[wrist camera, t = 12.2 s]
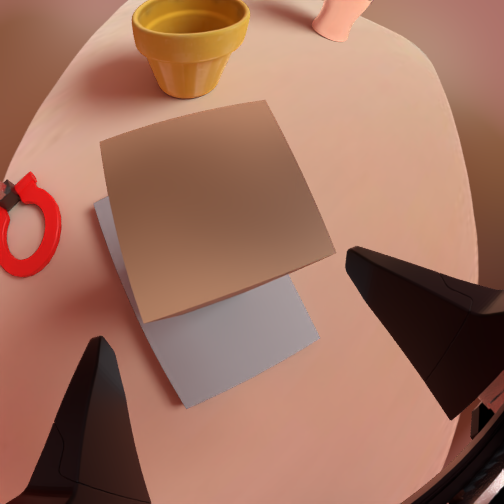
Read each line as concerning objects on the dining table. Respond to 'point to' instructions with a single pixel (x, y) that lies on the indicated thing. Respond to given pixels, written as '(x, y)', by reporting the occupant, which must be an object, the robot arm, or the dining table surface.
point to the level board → (220, 331)
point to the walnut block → (209, 208)
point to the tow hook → (8, 194)
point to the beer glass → (338, 18)
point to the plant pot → (189, 41)
